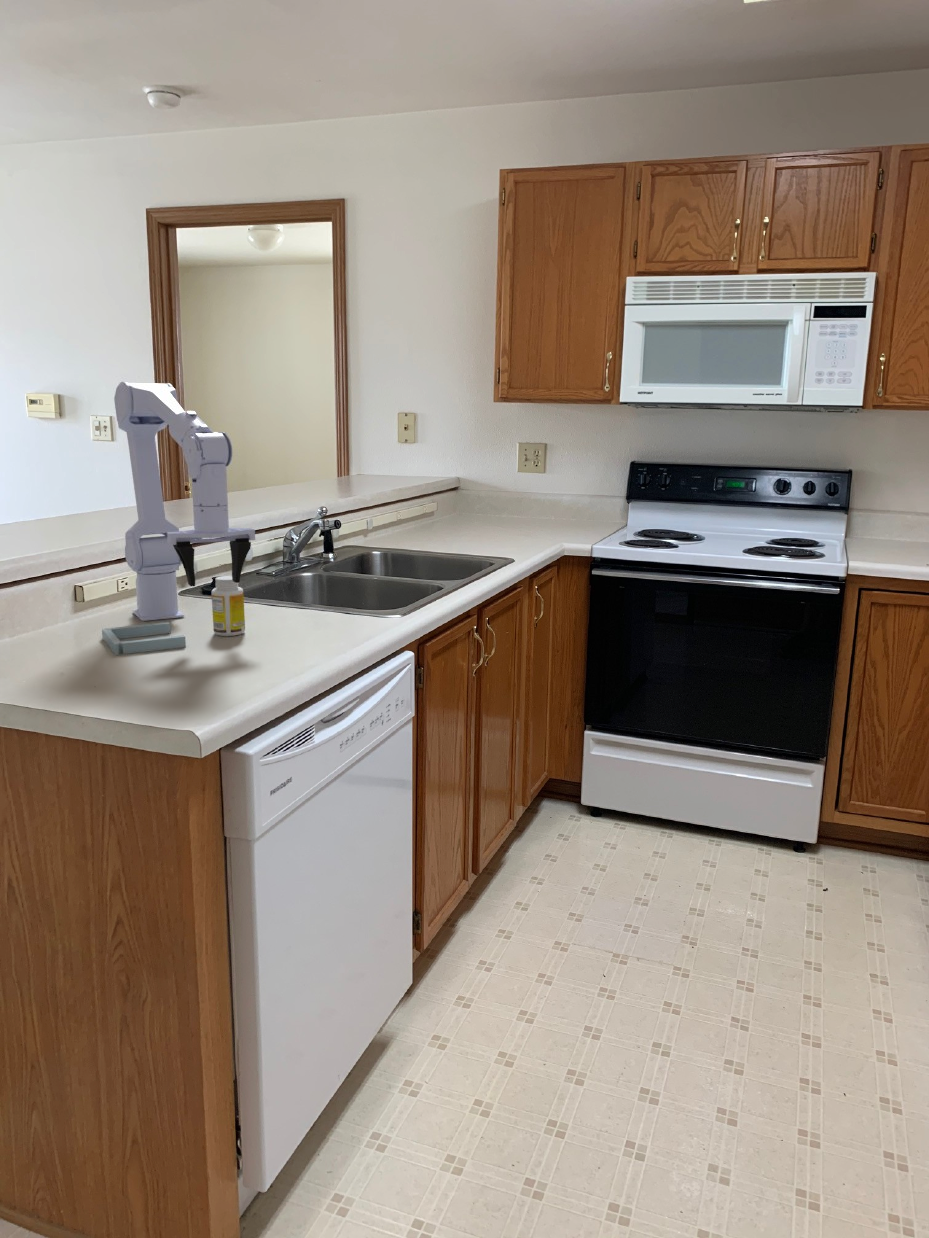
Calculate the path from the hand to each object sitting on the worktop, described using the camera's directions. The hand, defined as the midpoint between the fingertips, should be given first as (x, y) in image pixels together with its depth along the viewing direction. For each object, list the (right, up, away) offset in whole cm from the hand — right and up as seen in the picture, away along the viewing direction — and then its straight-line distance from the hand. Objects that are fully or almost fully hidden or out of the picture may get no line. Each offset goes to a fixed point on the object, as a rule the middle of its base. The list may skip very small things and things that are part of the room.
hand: (214, 583), depth 158 cm
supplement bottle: (+1, -9, +7) cm, 11 cm away
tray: (-12, -10, 0) cm, 16 cm away
